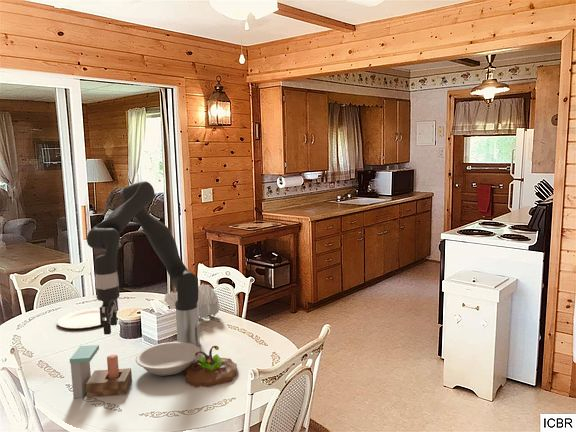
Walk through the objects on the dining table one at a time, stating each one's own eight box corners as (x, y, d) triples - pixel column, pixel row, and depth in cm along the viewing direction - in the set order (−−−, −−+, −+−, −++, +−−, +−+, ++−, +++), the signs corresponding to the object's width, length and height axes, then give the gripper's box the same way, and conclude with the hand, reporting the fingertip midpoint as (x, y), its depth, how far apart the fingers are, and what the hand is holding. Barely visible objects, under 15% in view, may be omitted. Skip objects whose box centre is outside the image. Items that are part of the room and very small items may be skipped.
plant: (241, 383, 172) (240, 354, 170) (186, 391, 167) (185, 361, 165) (233, 360, 191) (232, 333, 189) (184, 366, 186) (182, 339, 184)
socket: (132, 380, 174) (131, 368, 173) (125, 394, 164) (124, 381, 164) (95, 383, 173) (94, 370, 172) (87, 397, 163) (86, 383, 162)
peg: (110, 386, 170) (108, 354, 169) (121, 385, 171) (118, 354, 169) (108, 391, 167) (105, 359, 165) (118, 390, 167) (116, 358, 166)
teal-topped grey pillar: (101, 382, 173) (98, 344, 172) (92, 397, 163) (89, 357, 161) (83, 383, 173) (80, 346, 171) (73, 399, 162) (69, 359, 160)
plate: (98, 307, 260) (98, 304, 259) (131, 317, 243) (130, 314, 242) (45, 324, 236) (45, 320, 236) (77, 336, 219) (77, 332, 219)
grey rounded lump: (219, 323, 242) (178, 335, 224) (200, 302, 252) (159, 312, 234) (229, 295, 235) (187, 305, 217) (209, 274, 245) (168, 282, 227)
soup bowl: (130, 365, 187) (129, 350, 186) (189, 352, 198) (188, 337, 198) (144, 391, 166) (143, 374, 165) (209, 374, 178) (208, 358, 177)
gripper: (101, 280, 170) (105, 323, 173) (89, 291, 156) (93, 338, 159) (123, 278, 171) (126, 321, 173) (113, 290, 157) (116, 336, 159)
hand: (110, 329), depth 166 cm, fingers open, 8 cm apart
